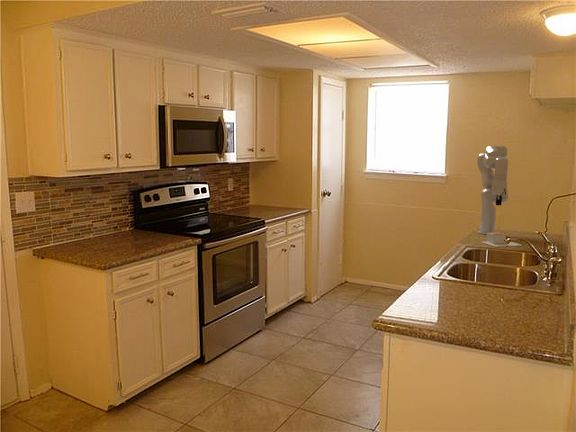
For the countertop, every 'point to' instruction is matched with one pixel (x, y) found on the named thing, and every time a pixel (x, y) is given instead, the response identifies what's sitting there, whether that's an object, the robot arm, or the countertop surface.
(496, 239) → the small box
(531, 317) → the countertop surface
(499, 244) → the mat
